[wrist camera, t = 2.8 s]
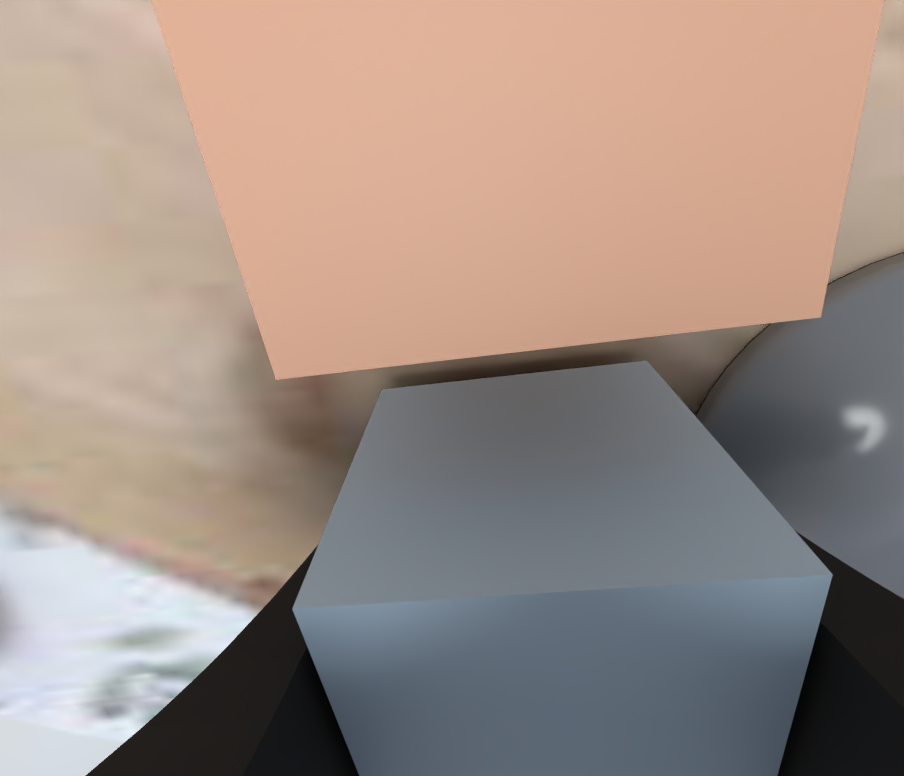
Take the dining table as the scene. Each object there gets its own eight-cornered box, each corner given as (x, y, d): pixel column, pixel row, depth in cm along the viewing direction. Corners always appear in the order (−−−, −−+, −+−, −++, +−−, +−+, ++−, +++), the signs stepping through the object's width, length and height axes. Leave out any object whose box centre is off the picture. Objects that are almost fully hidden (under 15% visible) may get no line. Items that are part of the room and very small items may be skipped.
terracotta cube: (651, -140, 7) (1046, -804, 2) (639, 235, 9) (821, 317, 4) (302, -67, 7) (-8, -479, 2) (373, 271, 9) (276, 379, 5)
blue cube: (647, 360, 9) (832, 574, 4) (639, 562, 11) (757, 848, 6) (381, 389, 9) (291, 608, 5) (423, 576, 11) (390, 851, 7)
